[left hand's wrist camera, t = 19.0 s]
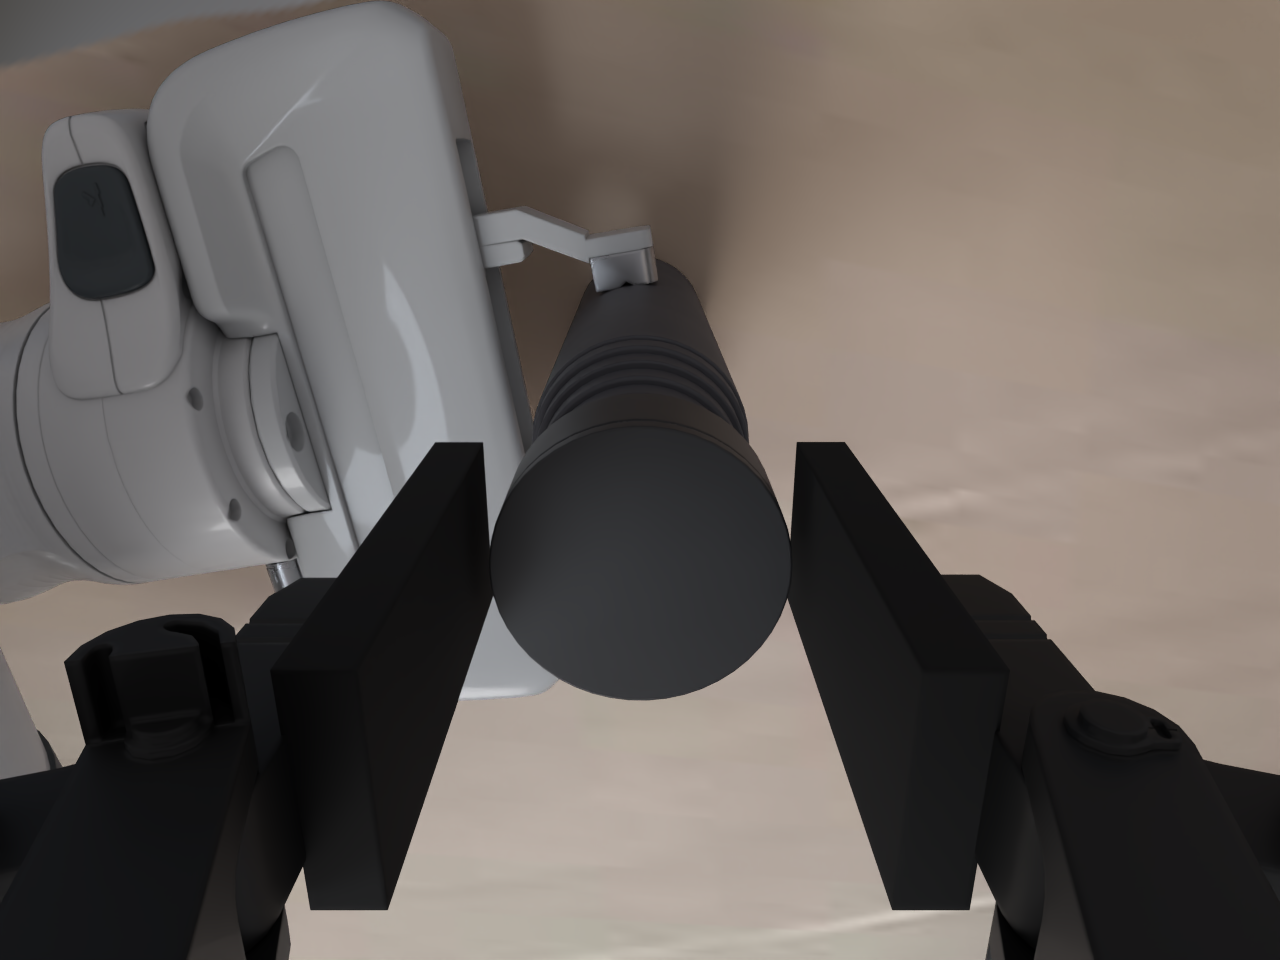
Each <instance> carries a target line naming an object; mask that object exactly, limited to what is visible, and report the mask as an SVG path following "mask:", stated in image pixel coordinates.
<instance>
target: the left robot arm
mask: <svg viewBox="0 0 1280 960" xmlns="http://www.w3.org/2000/svg"><path fill="white" fill-rule="evenodd" d="M790 542H791V548H792V576H791V584H790V588H789V593H788V597H787V598H788V601H789V604H790V607H791V610H792V613H793V616H794V619H795V622H796V625H797V628H798V631H799V634H800V637H801V640H802V643H803V646H804V649H805V652H806V655H807V658H808V661H809V664H810V667H811V670H812V673H813V676H814V679H815V682H816V684H817V687H818V690H819V693H820V696H821V699H822V702H823V705H824V708H825V711H826V714H827V717H828V720H829V723H830V726H831V729H832V732H833V735H834V738H835V741H836V744H837V747H838V750H839V753H840V756H841V759H842V762H843V765H844V768H845V771H846V774H847V777H848V780H849V783H850V786H851V789H852V792H853V795H854V798H855V800H856V803H857V806H858V809H859V812H860V815H861V818H862V821H863V824H864V827H865V830H866V833H867V836H868V839H869V842H870V845H871V848H872V851H873V854H874V857H875V860H876V863H877V866H878V869H879V872H880V875H881V878H882V881H883V884H884V887H885V890H886V893H887V896H888V899H889V902H890V905H891V908H892V910H970V904H971V898H972V892H973V887H974V881H975V875H976V869H977V863H978V865H979V867H980V869H981V871H982V873H983V875H984V877H985V879H986V881H987V883H988V886H989V888H990V890H991V892H992V894H993V896H994V898H995V900H996V904H995V910H994V915H993V921H992V926H991V932H990V937H989V943H988V948H987V954H986V959H985V960H1280V775H1275V774H1270V773H1265V772H1260V771H1255V770H1249V769H1244V768H1239V767H1234V766H1229V765H1224V764H1219V763H1215V762H1211V761H1207V760H1203V759H1202V757H1201V755H1200V753H1199V751H1198V749H1197V748H1196V746H1195V744H1194V743H1193V742H1192V740H1191V739H1190V738H1189V737H1188V736H1187V735H1186V733H1185V732H1184V731H1183V730H1182V729H1181V728H1180V726H1178V725H1177V724H1175V723H1174V722H1172V721H1171V720H1169V719H1168V718H1166V717H1165V716H1163V715H1162V714H1160V713H1159V712H1157V711H1156V710H1154V709H1152V708H1149V707H1147V706H1144V705H1142V704H1139V703H1137V702H1134V701H1132V700H1129V699H1127V698H1125V697H1120V696H1116V695H1111V694H1107V693H1102V692H1098V691H1095V690H1094V689H1093V688H1092V687H1091V686H1090V684H1089V683H1088V682H1087V681H1086V680H1085V679H1084V677H1083V676H1082V675H1081V674H1080V673H1079V672H1078V670H1077V669H1076V668H1075V667H1074V666H1073V665H1072V663H1071V662H1070V661H1069V660H1068V659H1067V658H1066V656H1065V655H1064V654H1063V653H1062V652H1061V651H1060V649H1059V648H1058V647H1057V646H1056V645H1055V644H1054V642H1053V641H1052V640H1051V639H1047V634H1046V633H1045V632H1044V631H1043V630H1042V628H1041V627H1040V626H1039V625H1038V624H1037V623H1036V621H1035V620H1031V616H1030V614H1029V613H1028V612H1027V611H1026V610H1025V609H1024V607H1023V606H1022V605H1021V604H1020V603H1019V602H1018V600H1017V599H1016V598H1015V597H1014V596H1013V595H1012V594H1011V593H1010V592H1008V591H1006V590H1005V589H1003V588H1001V587H999V586H998V585H996V584H994V583H993V582H991V581H989V580H987V579H986V578H984V577H982V576H981V575H941V574H940V573H939V571H938V570H937V569H936V567H935V566H934V565H933V563H932V562H931V560H930V559H929V558H928V556H927V555H926V554H925V552H924V551H923V549H922V548H921V547H920V545H919V544H918V542H917V541H916V540H915V538H914V537H913V536H912V534H911V533H910V531H909V530H908V529H907V527H906V526H905V525H904V523H903V522H902V520H901V519H900V518H899V516H898V515H897V513H896V512H895V511H894V509H893V508H892V507H891V505H890V504H889V502H888V501H887V500H886V498H885V497H884V496H883V494H882V493H881V491H880V490H879V489H878V487H877V486H876V485H875V483H874V482H873V480H872V479H871V478H870V476H869V475H868V473H867V472H866V471H865V469H864V468H863V467H862V465H861V464H860V462H859V461H858V460H857V458H856V457H855V456H854V454H853V453H852V451H851V450H850V449H849V447H848V446H847V444H846V443H845V442H797V447H796V463H795V478H794V493H793V509H792V524H791V540H790ZM489 554H490V540H489V524H488V509H487V493H486V478H485V462H484V447H483V442H435V443H434V445H433V446H432V447H431V449H430V450H429V451H428V453H427V454H426V456H425V457H424V458H423V460H422V461H421V462H420V464H419V465H418V467H417V468H416V469H415V471H414V472H413V473H412V475H411V476H410V478H409V479H408V480H407V482H406V483H405V485H404V486H403V487H402V489H401V490H400V491H399V493H398V494H397V496H396V497H395V498H394V500H393V501H392V502H391V504H390V505H389V507H388V508H387V509H386V511H385V512H384V514H383V515H382V516H381V518H380V519H379V520H378V522H377V523H376V525H375V526H374V527H373V529H372V530H371V531H370V533H369V534H368V536H367V537H366V538H365V540H364V541H363V542H362V544H361V545H360V547H359V548H358V549H357V551H356V552H355V554H354V555H353V556H352V558H351V559H350V560H349V562H348V563H347V565H346V566H345V567H344V569H343V570H342V571H341V573H340V574H339V576H338V577H337V578H300V579H298V580H296V581H295V582H293V583H291V584H290V585H288V586H286V587H284V588H283V589H281V590H279V591H278V592H276V593H274V594H273V595H271V596H269V597H268V598H267V599H266V601H265V602H264V603H263V604H262V605H261V606H260V608H259V609H258V610H257V611H256V612H255V613H254V615H253V616H252V617H251V618H250V623H249V624H245V625H244V626H243V628H242V629H241V630H240V631H239V632H238V633H237V635H235V629H234V627H232V626H231V625H230V624H228V623H227V622H226V621H224V620H223V619H222V618H217V617H212V616H207V615H202V614H173V615H165V616H160V617H155V618H149V619H144V620H139V621H136V622H133V623H130V624H127V625H124V626H121V627H118V628H115V629H113V630H110V631H107V632H105V633H103V634H101V635H100V636H98V637H96V638H94V639H92V640H90V641H89V642H87V643H85V644H83V645H81V646H80V647H79V648H78V649H77V650H76V651H75V652H74V653H73V654H72V655H71V656H70V657H69V658H68V659H67V660H66V661H64V664H65V668H66V672H67V675H68V679H69V683H70V687H71V691H72V694H73V698H74V702H75V706H76V710H77V714H78V717H79V721H80V725H81V729H82V733H83V736H84V740H85V744H86V745H85V747H84V749H83V751H82V753H81V755H80V757H79V758H78V760H77V762H76V764H74V765H70V766H66V767H62V768H57V769H52V770H47V771H42V772H37V773H31V774H26V775H21V776H16V777H11V778H6V779H0V960H289V953H290V946H291V943H290V935H289V927H288V921H287V915H286V910H285V903H286V901H287V899H288V897H289V894H290V892H291V890H292V888H293V886H294V884H295V882H296V880H297V878H298V876H299V873H300V871H301V869H302V867H303V869H304V875H305V881H306V886H307V892H308V898H309V904H310V910H388V908H389V905H390V902H391V899H392V896H393V893H394V890H395V887H396V884H397V881H398V878H399V875H400V872H401V869H402V866H403V863H404V860H405V857H406V854H407V851H408V848H409V845H410V842H411V839H412V836H413V833H414V830H415V827H416V824H417V821H418V818H419V815H420V812H421V809H422V806H423V804H424V801H425V798H426V795H427V792H428V789H429V786H430V783H431V780H432V777H433V774H434V771H435V768H436V765H437V762H438V759H439V756H440V753H441V750H442V747H443V744H444V741H445V738H446V735H447V732H448V729H449V726H450V723H451V720H452V717H453V714H454V711H455V708H456V705H457V702H458V699H459V696H460V693H461V690H462V687H463V685H464V682H465V679H466V676H467V673H468V670H469V667H470V664H471V661H472V658H473V655H474V652H475V649H476V646H477V643H478V640H479V637H480V634H481V631H482V628H483V625H484V622H485V619H486V616H487V613H488V610H489V607H490V604H491V601H492V598H493V592H492V587H491V582H490V572H489Z"/></svg>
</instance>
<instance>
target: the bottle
mask: <svg viewBox="0 0 1280 960" xmlns="http://www.w3.org/2000/svg"><path fill="white" fill-rule="evenodd" d="M655 261H656V268H657V275H658V281H655V282H653V283H648V284H643V285H632V284H630V283H628V282H625V283H624V284H623V285H622V286H621V287H620V288H617V289H614V290H607V291H601V292H596V288H595V283H594V278H593V280H592V281H591V283H590V284H589V285H588V287H587V289H586V291H585V293H584V295H583V297H582V300H581V302H580V305H579V307H578V310H577V312H576V314H575V317H574V319H573V322H572V324H571V326H570V329H569V331H568V334H567V336H566V338H565V341H564V343H563V346H562V348H561V350H560V353H559V355H558V358H557V360H556V362H555V365H554V367H553V370H552V372H551V375H550V377H549V379H548V382H547V384H546V387H545V389H544V391H543V394H542V396H541V399H540V401H539V404H538V407H537V409H536V414H535V418H534V422H533V433H532V444H533V443H534V441H535V440H536V439H537V438H538V437H539V436H540V435H541V434H542V433H543V432H544V431H545V430H546V429H547V428H548V427H549V426H550V425H551V424H553V423H554V422H556V421H557V420H558V419H560V418H561V417H562V416H564V415H565V414H567V413H569V412H571V411H573V410H575V409H576V408H578V407H580V406H582V405H585V404H588V403H590V402H593V401H595V400H598V399H602V398H606V397H611V396H615V395H623V394H632V393H646V394H659V395H665V396H671V397H675V398H679V399H682V400H686V401H689V402H691V403H694V404H696V405H698V406H701V407H703V408H705V409H707V410H709V411H710V412H712V413H714V414H716V415H717V416H719V417H721V418H722V419H723V420H724V421H726V422H727V423H728V424H729V425H731V426H732V427H733V428H735V430H736V431H737V432H738V433H739V434H740V435H741V436H742V437H743V438H744V439H745V440H746V441H747V442H748V444H749V438H748V437H749V435H748V424H747V419H746V414H745V410H744V407H743V404H742V402H741V399H740V397H739V394H738V392H737V389H736V387H735V385H734V382H733V380H732V378H731V375H730V373H729V370H728V368H727V366H726V363H725V361H724V359H723V356H722V354H721V351H720V349H719V347H718V344H717V342H716V340H715V337H714V335H713V332H712V330H711V328H710V325H709V323H708V320H707V318H706V316H705V313H704V311H703V309H702V306H701V304H700V301H699V299H698V297H697V294H696V292H695V290H694V288H693V287H692V285H691V283H690V282H689V281H688V279H687V278H686V277H685V276H684V275H683V274H682V273H681V272H680V271H678V270H677V269H676V268H675V267H673V266H671V265H670V264H668V263H666V262H663V261H661V260H658V259H655Z"/></svg>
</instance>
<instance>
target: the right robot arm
mask: <svg viewBox="0 0 1280 960" xmlns="http://www.w3.org/2000/svg"><path fill="white" fill-rule="evenodd" d="M42 173H43V184H44V195H45V207H46V220H47V234H48V250H49V275H50V303H47V304H45V305H43V306H41V307H40V308H38V309H36V310H34V311H32V312H30V313H29V314H27V315H25V316H23V317H20V318H18V319H15V320H12V321H7V322H2V323H0V605H2V604H8V603H12V602H16V601H21V600H25V599H28V598H31V597H34V596H36V595H39V594H41V593H43V592H45V591H48V590H50V589H52V588H54V587H56V586H58V585H60V584H62V583H65V582H68V581H74V580H87V581H94V582H100V583H107V584H139V583H145V582H152V581H158V580H166V579H172V578H179V577H185V576H192V575H198V574H205V573H212V572H218V571H226V570H232V569H239V568H245V567H252V566H258V565H264V564H265V565H266V568H267V571H268V574H269V577H270V580H271V582H272V585H273V588H274V591H275V593H276V592H278V591H279V590H281V589H283V588H284V587H286V586H288V585H290V584H291V583H293V582H295V581H296V580H298V579H300V578H337V577H338V576H339V574H340V573H341V571H342V570H343V569H344V567H345V566H346V565H347V563H348V562H349V560H350V559H351V558H352V556H353V555H354V554H355V552H356V551H357V549H358V548H359V547H360V545H361V544H362V542H363V541H364V540H365V538H366V537H367V536H368V534H369V533H370V531H371V530H372V529H373V527H374V526H375V525H376V523H377V522H378V520H379V519H380V518H381V516H382V515H383V514H384V512H385V511H386V509H387V508H388V507H389V505H390V504H391V502H392V501H393V500H394V498H395V497H396V496H397V494H398V493H399V491H400V490H401V489H402V487H403V486H404V485H405V483H406V482H407V480H408V479H409V478H410V476H411V475H412V473H413V472H414V471H415V469H416V468H417V467H418V465H419V464H420V462H421V461H422V460H423V458H424V457H425V456H426V454H427V453H428V451H429V450H430V449H431V447H432V446H433V445H434V443H435V442H483V447H484V462H485V478H486V493H487V509H488V524H489V540H490V544H491V538H492V534H493V530H494V526H495V523H496V520H497V518H498V515H499V513H500V510H501V508H502V505H503V503H504V500H505V498H506V495H507V493H508V490H509V488H510V485H511V483H512V480H513V478H514V475H515V473H516V470H517V468H518V466H519V464H520V462H521V460H522V459H523V457H524V455H525V454H526V452H527V450H528V449H529V448H530V447H531V445H532V433H533V419H532V414H531V409H530V405H529V400H528V395H527V391H526V386H525V381H524V377H523V372H522V367H521V363H520V358H519V354H518V349H517V344H516V340H515V335H514V330H513V326H512V321H511V316H510V312H509V307H508V302H507V298H506V293H505V288H504V284H503V279H502V274H501V270H500V266H502V265H508V264H513V263H519V262H522V261H523V260H524V259H526V258H527V257H528V256H529V255H530V254H531V253H532V251H533V245H532V243H534V244H537V245H540V246H543V247H545V248H548V249H551V250H553V251H556V252H559V253H562V254H564V255H567V256H570V257H573V258H575V259H578V260H581V261H584V262H586V263H591V268H592V273H593V278H594V283H595V288H596V292H601V291H607V290H614V289H617V288H620V287H621V286H622V285H623V284H624V283H625V282H628V283H630V284H632V285H643V284H648V283H653V282H655V281H658V275H657V268H656V261H655V254H654V247H653V241H652V235H651V228H650V225H647V226H636V227H630V228H624V229H619V230H613V231H607V232H601V233H595V234H589V231H588V230H587V229H584V228H582V227H579V226H577V225H574V224H571V223H569V222H566V221H564V220H561V219H559V218H556V217H553V216H551V215H548V214H546V213H543V212H541V211H538V210H535V209H533V208H530V207H528V206H520V207H514V208H509V209H503V210H497V211H491V212H488V209H487V205H486V200H485V195H484V191H483V186H482V181H481V177H480V172H479V168H478V163H477V158H476V154H475V149H474V144H473V140H472V135H471V130H470V126H469V121H468V116H467V112H466V107H465V102H464V98H463V93H462V88H461V84H460V79H459V75H458V70H457V65H456V61H455V56H454V52H453V48H452V45H451V43H450V41H449V39H448V38H447V37H446V36H445V34H443V33H442V32H441V31H440V30H439V29H437V28H436V27H435V26H434V25H432V24H431V23H430V22H429V21H428V20H426V19H425V18H424V17H422V16H421V15H419V14H418V13H416V12H414V11H412V10H410V9H409V8H407V7H405V6H403V5H401V4H397V3H394V2H390V1H370V2H363V3H358V4H352V5H347V6H343V7H339V8H335V9H331V10H327V11H322V12H318V13H314V14H311V15H307V16H304V17H300V18H297V19H293V20H290V21H286V22H283V23H280V24H277V25H274V26H271V27H268V28H265V29H262V30H259V31H256V32H253V33H250V34H248V35H245V36H242V37H240V38H237V39H234V40H232V41H229V42H227V43H224V44H222V45H219V46H217V47H214V48H212V49H209V50H207V51H205V52H203V53H201V54H199V55H197V56H195V57H193V58H191V59H190V60H188V61H186V62H185V63H183V64H182V65H181V66H179V67H178V68H177V69H175V70H174V71H173V72H172V73H171V74H170V75H169V76H168V77H167V78H166V79H165V80H164V81H163V83H162V84H161V85H160V87H159V88H158V90H157V92H156V94H155V96H154V98H153V100H152V102H151V106H150V109H117V110H104V111H97V112H90V113H84V114H79V115H74V116H69V117H66V118H63V119H60V120H58V121H56V122H54V123H52V124H51V125H50V126H49V127H48V129H47V130H46V132H45V135H44V138H43V143H42ZM558 680H559V679H558V678H557V677H555V676H554V675H552V674H551V673H549V672H548V671H546V670H545V669H543V668H542V667H541V666H540V665H539V664H538V663H536V662H535V661H534V660H533V659H532V658H531V657H529V655H528V654H527V653H526V652H525V651H524V650H523V649H522V648H521V647H520V645H519V644H518V643H517V642H516V640H515V639H514V637H513V636H512V634H511V633H510V632H509V630H508V629H507V627H506V625H505V623H504V621H503V619H502V617H501V615H500V613H499V611H498V608H497V605H496V602H495V599H494V596H493V598H492V601H491V604H490V607H489V610H488V613H487V616H486V619H485V622H484V625H483V628H482V631H481V634H480V637H479V640H478V643H477V646H476V649H475V652H474V655H473V658H472V661H471V664H470V667H469V670H468V673H467V676H466V679H465V682H464V685H463V687H462V690H461V693H460V696H459V699H458V701H460V700H487V699H504V698H517V697H526V696H533V695H537V694H541V693H543V692H545V691H547V690H548V689H550V688H551V687H552V686H553V685H554V684H555V683H556V682H557V681H558ZM57 768H62V765H61V764H60V762H59V760H58V758H57V756H56V755H55V753H54V751H53V749H52V748H51V746H50V744H49V742H48V741H47V740H46V739H45V737H44V736H43V735H42V734H41V733H40V731H38V730H37V729H36V727H35V725H34V723H33V720H32V718H31V716H30V714H29V711H28V709H27V707H26V704H25V702H24V700H23V698H22V695H21V693H20V691H19V689H18V686H17V684H16V682H15V679H14V677H13V675H12V673H11V670H10V668H9V666H8V663H7V661H6V659H5V657H4V654H3V652H2V650H1V648H0V779H6V778H11V777H16V776H21V775H26V774H31V773H37V772H42V771H47V770H52V769H57Z"/></svg>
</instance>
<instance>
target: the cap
mask: <svg viewBox="0 0 1280 960" xmlns="http://www.w3.org/2000/svg"><path fill="white" fill-rule="evenodd" d="M489 572H490V582H491V587H492V592H493V596H494V599H495V602H496V605H497V608H498V611H499V613H500V615H501V617H502V619H503V621H504V623H505V625H506V627H507V629H508V630H509V632H510V633H511V634H512V636H513V637H514V639H515V640H516V642H517V643H518V644H519V645H520V647H521V648H522V649H523V650H524V651H525V652H526V653H527V654H528V655H529V657H531V658H532V659H533V660H534V661H535V662H536V663H538V664H539V665H540V666H541V667H542V668H543V669H545V670H546V671H548V672H549V673H551V674H552V675H554V676H555V677H557V678H558V679H560V680H562V681H564V682H566V683H568V684H570V685H572V686H574V687H576V688H579V689H582V690H585V691H587V692H590V693H593V694H597V695H601V696H605V697H609V698H616V699H624V700H656V699H666V698H671V697H676V696H680V695H685V694H688V693H691V692H694V691H697V690H700V689H703V688H705V687H707V686H709V685H711V684H713V683H715V682H717V681H719V680H721V679H723V678H724V677H726V676H727V675H729V674H731V673H732V672H734V671H735V670H736V669H738V668H739V667H740V666H741V665H743V664H744V663H745V662H746V661H747V660H749V659H750V658H751V657H752V655H753V654H754V653H755V652H756V651H757V650H758V649H759V648H760V647H761V646H762V645H763V643H764V642H765V641H766V639H767V638H768V636H769V635H770V634H771V632H772V631H773V629H774V627H775V625H776V623H777V622H778V620H779V618H780V616H781V614H782V611H783V608H784V606H785V603H786V601H787V597H788V593H789V588H790V584H791V576H792V548H791V542H790V537H789V532H788V528H787V525H786V523H785V520H784V517H783V514H782V512H781V509H780V507H779V504H778V502H777V499H776V497H775V494H774V492H773V489H772V487H771V484H770V482H769V479H768V477H767V474H766V472H765V469H764V467H763V466H762V464H761V462H760V460H759V458H758V456H757V455H756V453H755V452H754V450H753V449H752V448H751V446H750V445H749V444H748V442H747V441H746V440H745V439H744V438H743V437H742V436H741V435H740V434H739V433H738V432H737V431H736V430H735V428H733V427H732V426H731V425H729V424H728V423H727V422H726V421H724V420H723V419H722V418H721V417H719V416H717V415H716V414H714V413H712V412H710V411H709V410H707V409H705V408H703V407H701V406H698V405H696V404H694V403H691V402H689V401H686V400H682V399H679V398H675V397H671V396H665V395H659V394H646V393H632V394H623V395H615V396H611V397H606V398H602V399H598V400H595V401H593V402H590V403H588V404H585V405H582V406H580V407H578V408H576V409H575V410H573V411H571V412H569V413H567V414H565V415H564V416H562V417H561V418H560V419H558V420H557V421H556V422H554V423H553V424H551V425H550V426H549V427H548V428H547V429H546V430H545V431H544V432H543V433H542V434H541V435H540V436H539V437H538V438H537V439H536V440H535V441H534V443H533V444H532V445H531V447H530V448H529V449H528V450H527V452H526V454H525V455H524V457H523V459H522V460H521V462H520V464H519V466H518V468H517V470H516V473H515V475H514V478H513V480H512V483H511V485H510V488H509V490H508V493H507V495H506V498H505V500H504V503H503V505H502V508H501V510H500V513H499V515H498V518H497V520H496V523H495V526H494V530H493V534H492V538H491V544H490V554H489Z"/></svg>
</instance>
